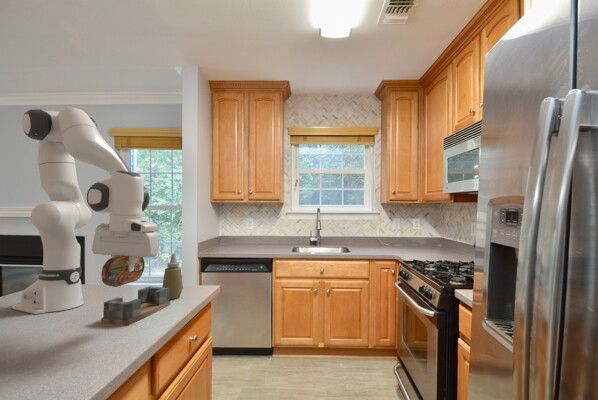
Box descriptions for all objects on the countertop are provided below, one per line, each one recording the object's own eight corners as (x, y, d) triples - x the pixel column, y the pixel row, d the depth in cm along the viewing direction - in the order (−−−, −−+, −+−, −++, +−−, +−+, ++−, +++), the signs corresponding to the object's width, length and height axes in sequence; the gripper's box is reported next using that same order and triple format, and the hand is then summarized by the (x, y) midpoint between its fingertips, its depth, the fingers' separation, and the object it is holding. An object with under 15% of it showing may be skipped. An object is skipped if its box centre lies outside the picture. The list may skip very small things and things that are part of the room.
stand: (101, 322, 100) (102, 302, 101) (147, 303, 122) (147, 286, 122) (128, 325, 99) (129, 304, 99) (170, 305, 120) (170, 287, 120)
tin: (106, 289, 86) (111, 259, 87) (97, 288, 87) (101, 257, 87) (143, 279, 101) (147, 253, 101) (135, 277, 102) (138, 251, 102)
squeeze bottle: (175, 294, 136) (176, 252, 136) (186, 297, 131) (187, 254, 131) (157, 298, 129) (159, 254, 130) (168, 301, 124) (170, 256, 125)
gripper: (87, 223, 93) (85, 270, 93) (149, 226, 89) (146, 275, 89) (104, 222, 100) (102, 266, 99) (162, 225, 96) (160, 271, 95)
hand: (124, 270), depth 94 cm, fingers closed on tin, 2 cm apart
